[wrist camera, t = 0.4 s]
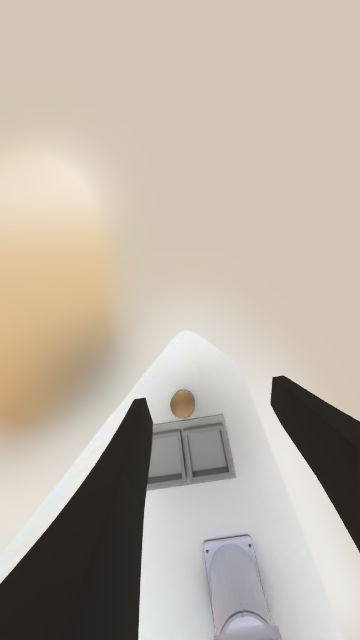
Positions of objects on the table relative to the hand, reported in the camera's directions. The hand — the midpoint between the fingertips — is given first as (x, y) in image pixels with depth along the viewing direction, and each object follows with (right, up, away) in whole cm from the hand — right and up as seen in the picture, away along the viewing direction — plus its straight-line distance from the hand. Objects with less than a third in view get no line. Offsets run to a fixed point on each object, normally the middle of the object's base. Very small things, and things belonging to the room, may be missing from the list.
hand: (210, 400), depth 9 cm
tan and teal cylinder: (-1, -13, +26) cm, 29 cm away
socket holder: (-1, -21, +23) cm, 31 cm away
